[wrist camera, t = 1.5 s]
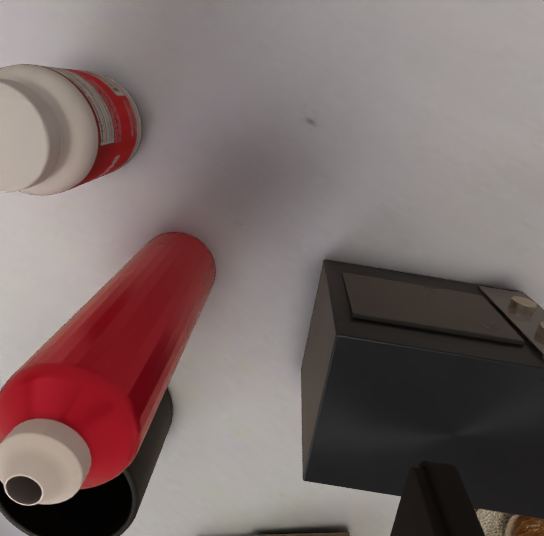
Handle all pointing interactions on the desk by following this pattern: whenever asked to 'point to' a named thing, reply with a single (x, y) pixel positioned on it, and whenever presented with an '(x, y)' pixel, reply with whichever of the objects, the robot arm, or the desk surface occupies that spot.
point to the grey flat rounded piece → (509, 524)
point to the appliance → (424, 385)
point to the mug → (97, 494)
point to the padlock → (310, 535)
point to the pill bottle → (62, 128)
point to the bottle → (102, 375)
